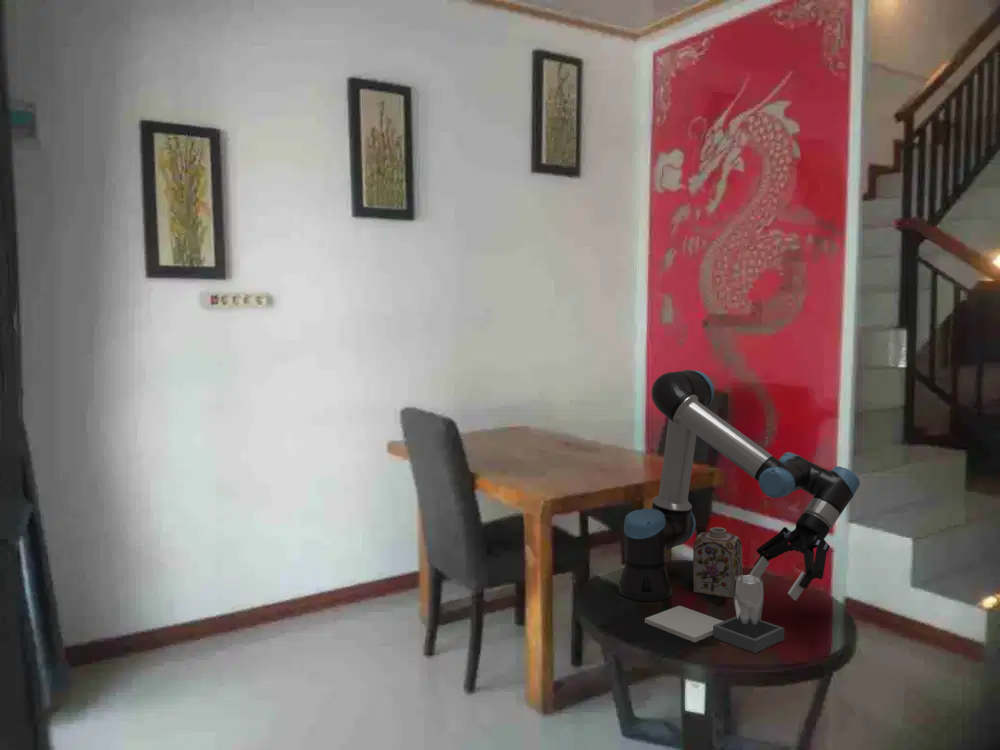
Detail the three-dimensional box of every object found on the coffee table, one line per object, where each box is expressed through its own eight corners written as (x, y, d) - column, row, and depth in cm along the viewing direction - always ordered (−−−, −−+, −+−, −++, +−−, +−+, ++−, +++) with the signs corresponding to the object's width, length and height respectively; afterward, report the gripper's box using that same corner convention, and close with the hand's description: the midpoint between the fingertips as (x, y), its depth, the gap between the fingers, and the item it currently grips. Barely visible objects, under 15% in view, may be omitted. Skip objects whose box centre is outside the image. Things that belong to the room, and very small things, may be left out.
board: (644, 622, 195) (644, 618, 195) (679, 609, 203) (679, 605, 203) (694, 642, 182) (694, 637, 182) (729, 627, 191) (729, 623, 191)
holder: (713, 637, 185) (713, 625, 185) (742, 625, 192) (742, 613, 192) (755, 653, 176) (755, 641, 175) (784, 639, 183) (784, 627, 183)
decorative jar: (743, 586, 220) (743, 526, 219) (733, 599, 210) (733, 536, 209) (702, 580, 226) (702, 522, 225) (691, 592, 216) (691, 531, 215)
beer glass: (765, 645, 180) (765, 584, 179) (735, 643, 181) (735, 583, 180) (760, 633, 187) (760, 575, 186) (732, 632, 188) (732, 574, 187)
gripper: (865, 542, 179) (818, 614, 174) (788, 518, 202) (744, 581, 197) (849, 523, 176) (801, 595, 172) (772, 501, 199) (728, 565, 195)
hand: (770, 588), depth 184 cm, fingers open, 13 cm apart
